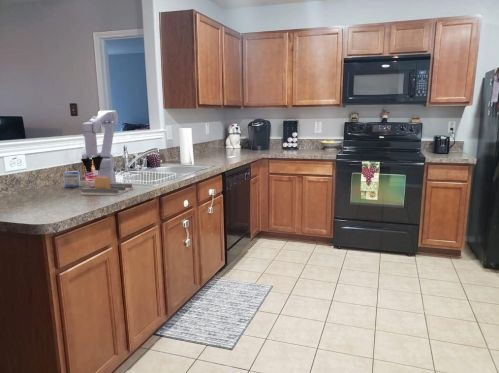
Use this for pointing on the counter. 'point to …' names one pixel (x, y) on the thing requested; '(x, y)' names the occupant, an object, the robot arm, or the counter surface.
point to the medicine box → (72, 179)
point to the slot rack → (107, 190)
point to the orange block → (102, 182)
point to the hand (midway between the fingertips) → (93, 171)
